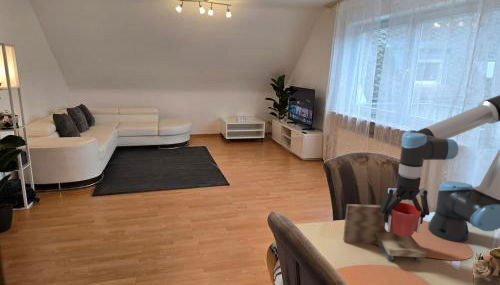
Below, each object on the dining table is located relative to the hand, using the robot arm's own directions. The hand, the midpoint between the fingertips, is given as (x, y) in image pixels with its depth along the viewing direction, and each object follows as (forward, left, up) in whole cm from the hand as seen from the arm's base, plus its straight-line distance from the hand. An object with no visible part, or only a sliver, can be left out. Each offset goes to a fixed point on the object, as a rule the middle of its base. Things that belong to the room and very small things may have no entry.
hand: (401, 230), depth 121 cm
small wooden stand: (0, +1, -10) cm, 10 cm away
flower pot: (0, 0, -1) cm, 1 cm away
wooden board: (+6, -7, -10) cm, 14 cm away
